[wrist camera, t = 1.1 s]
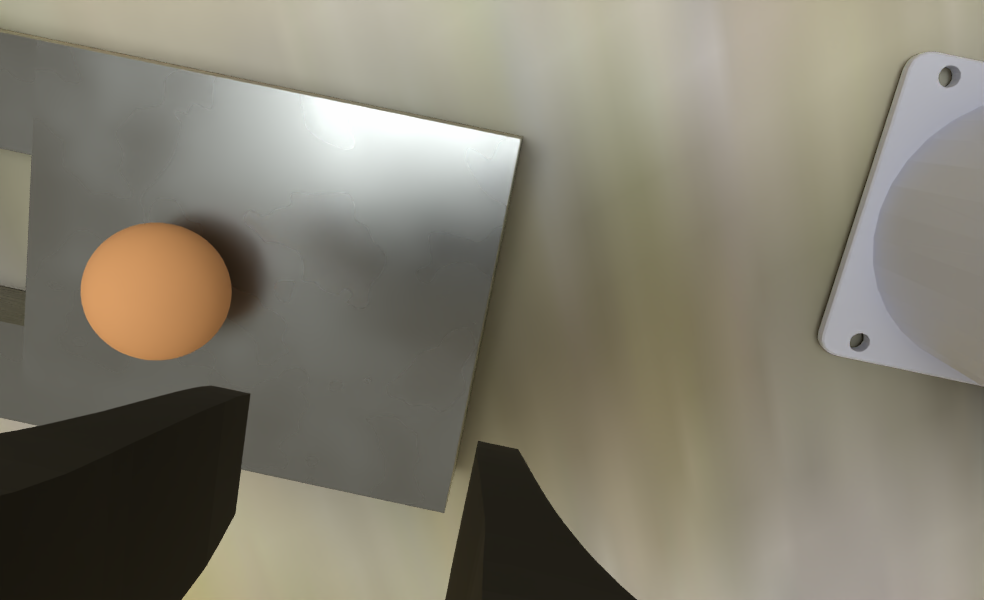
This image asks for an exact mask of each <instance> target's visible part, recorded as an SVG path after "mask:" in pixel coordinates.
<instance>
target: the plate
mask: <svg viewBox="0 0 984 600" xmlns="http://www.w3.org/2000/svg"><path fill="white" fill-rule="evenodd" d="M522 140H523V136H518V135H513V134H509V133H504V132H499V131H494V130H489V129H484V128H479V127H475V126H470V125H465V124H460V123H455V122H450V121H446V120H441V119H436V118H431V117H426V116H421V115H416V114H412V113H407V112H402V111H397V110H392V109H387V108H382V107H378V106H373V105H368V104H363V103H358V102H353V101H349V100H344V99H339V98H334V97H329V96H324V95H319V94H315V93H310V92H305V91H300V90H295V89H290V88H285V87H281V86H276V85H271V84H266V83H261V82H256V81H252V80H247V79H242V78H237V77H232V76H227V75H222V74H218V73H213V72H208V71H203V70H198V69H193V68H188V67H184V66H179V65H174V64H169V63H164V62H159V61H155V60H150V59H145V58H140V57H135V56H130V55H125V54H121V53H116V52H111V51H106V50H101V49H96V48H91V47H87V46H82V45H77V44H72V43H67V42H62V41H57V40H53V39H48V38H43V37H38V36H33V35H28V34H24V33H19V32H14V31H9V30H4V29H0V148H1V149H6V150H11V151H16V152H21V153H25V154H30V155H32V161H31V184H30V207H29V229H28V252H27V275H26V291H22V290H17V289H12V288H7V287H3V286H0V418H5V419H9V420H14V421H19V422H23V423H28V424H32V425H37V426H41V425H45V424H49V423H54V422H58V421H62V420H67V419H71V418H75V417H80V416H84V415H88V414H93V413H97V412H101V411H105V410H109V409H113V408H116V407H120V406H124V405H128V404H131V403H135V402H139V401H143V400H146V399H150V398H154V397H158V396H161V395H165V394H169V393H173V392H177V391H181V390H185V389H190V388H195V387H201V386H211V385H212V386H217V387H221V388H226V389H231V390H236V391H241V392H245V393H250V394H251V395H250V402H249V410H248V418H247V426H246V434H245V442H244V450H243V457H242V465H241V469H242V470H246V471H251V472H256V473H260V474H265V475H270V476H274V477H279V478H284V479H288V480H293V481H298V482H302V483H307V484H312V485H316V486H321V487H326V488H330V489H335V490H339V491H344V492H349V493H353V494H358V495H363V496H367V497H372V498H377V499H381V500H386V501H391V502H395V503H400V504H405V505H409V506H414V507H419V508H423V509H428V510H432V511H437V512H442V513H444V512H445V508H446V504H447V500H448V496H449V492H450V488H451V484H452V480H453V476H454V472H455V467H456V462H457V458H458V453H459V448H460V443H461V438H462V433H463V428H464V423H465V419H466V414H467V409H468V404H469V399H470V394H471V389H472V384H473V379H474V375H475V370H476V365H477V360H478V355H479V350H480V345H481V340H482V336H483V331H484V326H485V321H486V316H487V311H488V306H489V301H490V296H491V292H492V287H493V282H494V277H495V272H496V267H497V262H498V257H499V253H500V248H501V243H502V238H503V233H504V228H505V223H506V218H507V213H508V209H509V204H510V199H511V194H512V189H513V184H514V179H515V174H516V170H517V165H518V160H519V155H520V150H521V145H522ZM145 223H167V224H174V225H177V226H181V227H184V228H186V229H188V230H191V231H193V232H195V233H196V234H198V235H200V236H201V237H203V238H204V239H205V240H207V241H208V242H209V243H210V244H211V245H212V246H213V247H214V248H215V249H216V251H217V252H218V253H219V254H220V256H221V258H222V259H223V261H224V263H225V265H226V267H227V270H228V272H229V276H230V280H231V288H232V296H231V303H230V308H229V311H228V314H227V317H226V319H225V321H224V323H223V325H222V326H221V328H220V329H219V331H218V332H217V333H216V334H215V335H214V337H213V338H212V339H211V340H209V341H208V342H207V343H206V344H205V345H203V346H202V347H201V348H199V349H197V350H195V351H194V352H192V353H190V354H187V355H185V356H182V357H178V358H174V359H170V360H144V359H139V358H135V357H131V356H128V355H126V354H123V353H121V352H119V351H117V350H115V349H114V348H112V347H111V346H110V345H108V344H107V343H106V342H105V341H103V340H102V339H101V338H100V337H99V336H98V335H97V334H96V332H95V331H94V330H93V328H92V327H91V325H90V324H89V322H88V320H87V318H86V315H85V313H84V310H83V306H82V301H81V280H82V276H83V273H84V270H85V267H86V265H87V262H88V260H89V259H90V257H91V256H92V254H93V253H94V252H95V250H96V249H97V248H98V247H99V246H100V245H101V244H102V243H103V242H104V241H105V240H106V239H108V238H109V237H110V236H112V235H114V234H115V233H117V232H119V231H121V230H123V229H126V228H128V227H131V226H134V225H138V224H145Z"/></svg>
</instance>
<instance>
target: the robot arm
mask: <svg viewBox="0 0 984 600" xmlns="http://www.w3.org/2000/svg"><path fill="white" fill-rule="evenodd" d="M945 67H947V68H949V69H950V70H951V72H952V80H951V82H950V83H949V85H947V86H946V87H944V86H942V85H941V84H940V82H939V81H938V78H939V73H940V72H941V70H942V69H943V68H945ZM857 333H863V335H864V340H863V342H862V343H861V345H859V346H857V347H850V339H851V338H852V336H854V335H855V334H857ZM818 340H819V343H820V345H821V346H822V347H823V348H824V349H825V350H826V351H827V352H828V353H830V354H833V355H835V356H840V357H845V358H850V359H855V360H859V361H864V362H869V363H874V364H878V365H883V366H888V367H893V368H897V369H902V370H907V371H912V372H917V373H921V374H926V375H931V376H936V377H940V378H945V379H950V380H955V381H959V382H964V383H969V384H974V385H979V386H983V387H984V61H979V60H974V59H969V58H964V57H959V56H954V55H949V54H944V53H939V52H923V53H919V54H917V55H914V56H913V57H912V58H911V59H909V60H908V61H907V63H906V64H905V66H904V68H903V70H902V74H901V77H900V80H899V83H898V86H897V89H896V92H895V95H894V98H893V102H892V105H891V108H890V111H889V114H888V117H887V120H886V123H885V126H884V129H883V133H882V136H881V139H880V142H879V145H878V148H877V151H876V154H875V157H874V160H873V164H872V167H871V170H870V173H869V176H868V179H867V182H866V185H865V188H864V192H863V195H862V198H861V201H860V204H859V207H858V210H857V213H856V216H855V219H854V223H853V226H852V229H851V232H850V235H849V238H848V241H847V244H846V247H845V251H844V254H843V257H842V260H841V263H840V266H839V269H838V272H837V275H836V278H835V282H834V285H833V288H832V291H831V294H830V297H829V300H828V303H827V306H826V309H825V313H824V316H823V319H822V322H821V325H820V328H819V331H818ZM250 395H251V394H250V393H245V392H241V391H236V390H231V389H226V388H221V387H217V386H212V385H211V386H201V387H195V388H190V389H185V390H181V391H177V392H173V393H169V394H165V395H161V396H158V397H154V398H150V399H146V400H143V401H139V402H135V403H131V404H128V405H124V406H120V407H116V408H113V409H109V410H105V411H101V412H97V413H93V414H88V415H84V416H80V417H75V418H71V419H67V420H62V421H58V422H54V423H49V424H45V425H41V426H36V427H32V428H27V429H22V430H17V431H11V432H5V433H0V600H182V598H183V597H184V596H185V594H186V593H187V592H188V590H189V589H190V588H191V586H192V585H193V584H194V582H195V581H196V580H197V578H198V577H199V576H200V574H201V573H202V571H203V570H204V569H205V567H206V566H207V564H208V562H209V560H210V559H211V557H212V555H213V554H214V552H215V550H216V548H217V547H218V545H219V543H220V541H221V539H222V538H223V536H224V534H225V532H226V530H227V528H228V526H229V525H230V523H231V521H232V519H233V517H234V515H235V512H236V504H237V497H238V489H239V481H240V473H241V465H242V457H243V450H244V442H245V434H246V426H247V418H248V410H249V402H250ZM445 600H637V599H635V598H634V597H633V596H632V595H631V594H630V593H629V592H627V591H626V590H625V589H624V588H623V587H622V586H621V585H620V584H619V583H618V582H617V581H616V580H615V579H614V578H613V577H612V576H611V575H610V574H609V573H608V572H607V571H606V570H605V569H604V568H603V567H602V566H601V565H599V564H598V563H597V562H596V561H595V559H594V558H593V557H592V556H591V555H590V554H589V553H588V552H587V551H586V549H585V548H584V547H583V546H582V545H581V544H580V542H579V541H578V540H577V539H576V537H575V536H574V535H573V534H572V532H571V531H570V530H569V529H568V527H567V526H566V525H565V524H564V522H563V521H562V520H561V518H560V517H559V516H558V514H557V513H556V511H555V510H554V508H553V507H552V505H551V504H550V502H549V501H548V499H547V498H546V496H545V495H544V493H543V491H542V490H541V488H540V486H539V485H538V483H537V481H536V480H535V478H534V476H533V474H532V473H531V471H530V469H529V467H528V465H527V464H526V462H525V460H524V458H523V457H522V455H521V453H520V452H519V450H518V449H514V448H509V447H505V446H500V445H495V444H490V443H485V442H481V441H478V444H477V449H476V454H475V458H474V463H473V468H472V473H471V477H470V482H469V487H468V492H467V496H466V501H465V506H464V511H463V515H462V520H461V525H460V530H459V534H458V539H457V544H456V549H455V553H454V558H453V563H452V568H451V573H450V579H449V584H448V589H447V594H446V599H445Z"/></svg>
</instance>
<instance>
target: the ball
mask: <svg viewBox="0 0 984 600" xmlns="http://www.w3.org/2000/svg"><path fill="white" fill-rule="evenodd" d="M231 296H232V288H231V280H230V276H229V272H228V270H227V267H226V265H225V263H224V261H223V259H222V258H221V256H220V254H219V253H218V252H217V251H216V249H215V248H214V247H213V246H212V245H211V244H210V243H209V242H208V241H207V240H205V239H204V238H203V237H201V236H200V235H198V234H196V233H195V232H193V231H191V230H188V229H186V228H184V227H181V226H177V225H174V224H167V223H145V224H138V225H134V226H131V227H128V228H126V229H123V230H121V231H119V232H117V233H115V234H114V235H112V236H110V237H109V238H108V239H106V240H105V241H104V242H103V243H102V244H101V245H100V246H99V247H98V248H97V249H96V250H95V252H94V253H93V254H92V256H91V257H90V259H89V260H88V262H87V265H86V267H85V270H84V273H83V276H82V280H81V301H82V306H83V310H84V313H85V315H86V318H87V320H88V322H89V324H90V325H91V327H92V328H93V330H94V331H95V332H96V334H97V335H98V336H99V337H100V338H101V339H102V340H103V341H105V342H106V343H107V344H108V345H110V346H111V347H112V348H114V349H115V350H117V351H119V352H121V353H123V354H126V355H128V356H131V357H135V358H139V359H144V360H170V359H174V358H178V357H182V356H185V355H187V354H190V353H192V352H194V351H195V350H197V349H199V348H201V347H202V346H203V345H205V344H206V343H207V342H208V341H209V340H211V339H212V338H213V337H214V335H215V334H216V333H217V332H218V331H219V329H220V328H221V326H222V325H223V323H224V321H225V319H226V317H227V314H228V311H229V308H230V303H231Z"/></svg>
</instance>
